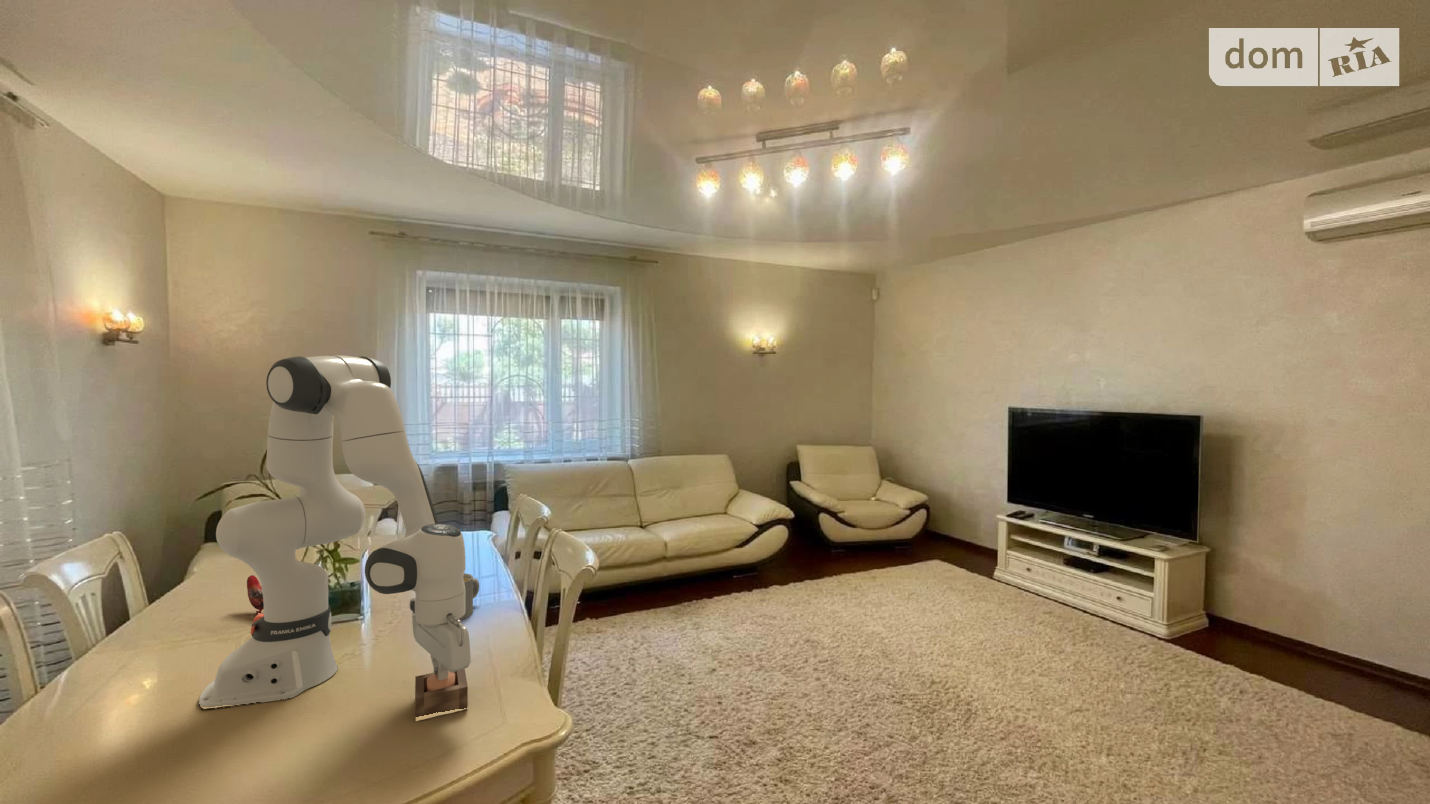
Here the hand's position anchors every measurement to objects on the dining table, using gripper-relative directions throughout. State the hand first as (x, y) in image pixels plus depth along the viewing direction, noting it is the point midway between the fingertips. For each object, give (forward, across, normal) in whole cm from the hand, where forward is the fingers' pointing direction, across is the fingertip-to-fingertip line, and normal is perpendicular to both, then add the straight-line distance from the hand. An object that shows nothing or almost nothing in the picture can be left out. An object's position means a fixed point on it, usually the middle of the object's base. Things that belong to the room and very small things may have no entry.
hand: (441, 677), depth 109 cm
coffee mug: (+6, +44, -21) cm, 49 cm away
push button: (+4, 0, 0) cm, 4 cm away
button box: (+5, 0, 0) cm, 5 cm away
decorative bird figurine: (+6, +80, +18) cm, 82 cm away
